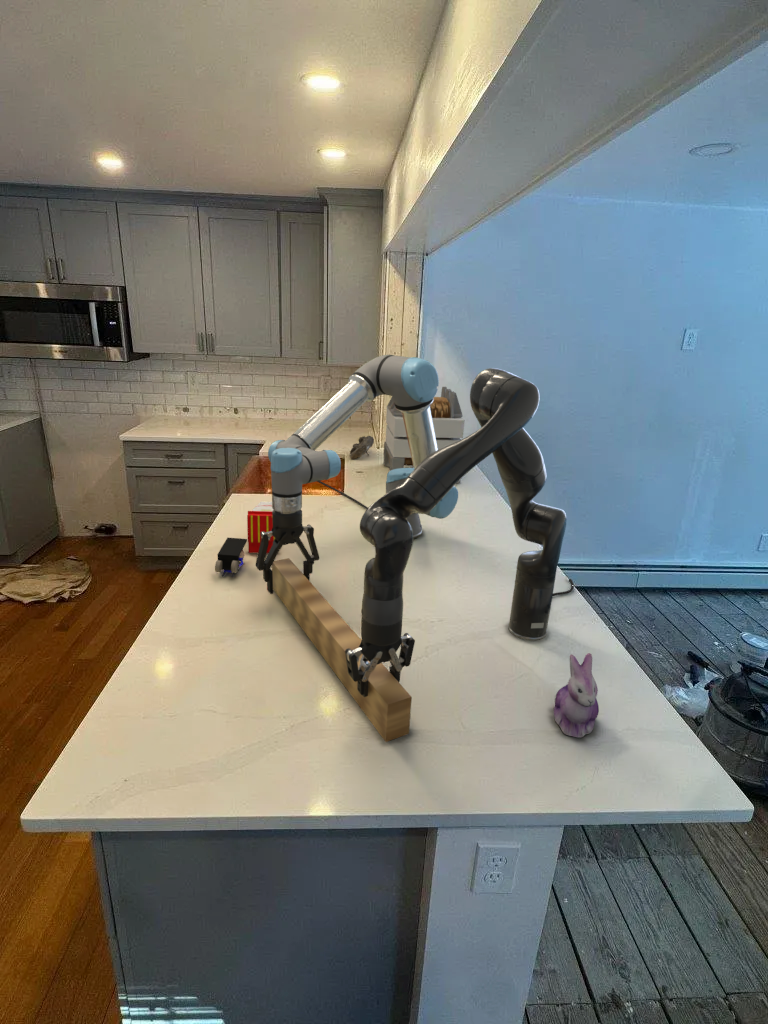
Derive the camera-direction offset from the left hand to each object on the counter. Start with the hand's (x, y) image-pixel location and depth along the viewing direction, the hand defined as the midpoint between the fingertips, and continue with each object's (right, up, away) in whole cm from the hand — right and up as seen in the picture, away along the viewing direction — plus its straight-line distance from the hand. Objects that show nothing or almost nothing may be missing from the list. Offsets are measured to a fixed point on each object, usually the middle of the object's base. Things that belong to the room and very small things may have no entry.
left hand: (288, 587), depth 152 cm
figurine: (+63, -21, -41) cm, 78 cm away
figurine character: (-19, +3, +16) cm, 25 cm away
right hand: (+25, -14, -43) cm, 51 cm away
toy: (-13, +12, +40) cm, 44 cm away
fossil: (+14, +51, +151) cm, 160 cm away
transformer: (+43, +39, +123) cm, 136 cm away
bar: (+12, -11, -20) cm, 26 cm away
